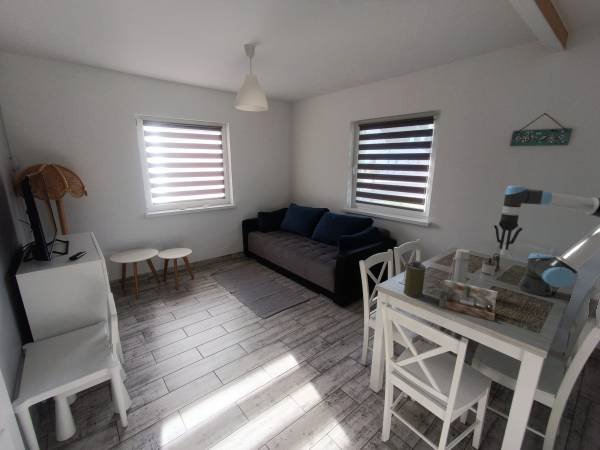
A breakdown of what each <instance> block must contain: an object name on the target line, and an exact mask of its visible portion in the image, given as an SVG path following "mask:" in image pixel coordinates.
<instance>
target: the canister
mask: <svg viewBox="0 0 600 450" xmlns="http://www.w3.org/2000/svg"><path fill="white" fill-rule="evenodd" d="M404 269H405V272H404V274H403V279H404V286H403V287H404V288H403V294H404V295H405V296H407V297H410V298H414V299H419V298H422V297H423V296H424V294H423V292H424V291H423V290H424V283H425V276H426V275H425V274H426V269H427V266H425V265H424V264H423V263H422V261H419V260H415V259H414V261H413V262H406V263H405V265H404Z"/></svg>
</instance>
